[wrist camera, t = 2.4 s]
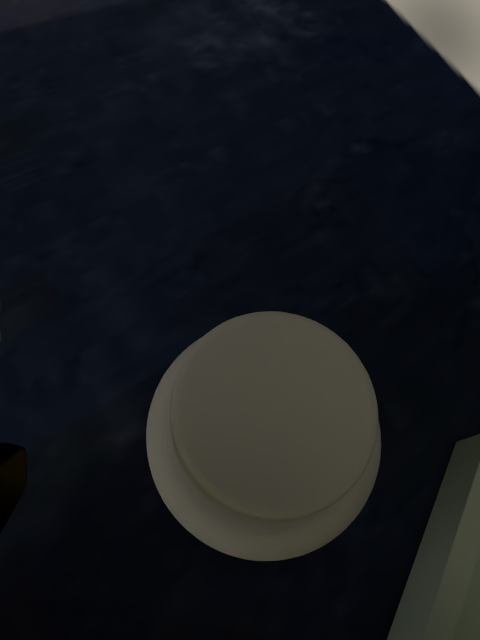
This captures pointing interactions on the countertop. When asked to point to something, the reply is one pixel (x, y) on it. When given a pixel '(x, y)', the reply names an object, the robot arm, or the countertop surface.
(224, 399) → the supplement bottle
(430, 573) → the tray
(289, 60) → the countertop surface
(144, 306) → the countertop surface
